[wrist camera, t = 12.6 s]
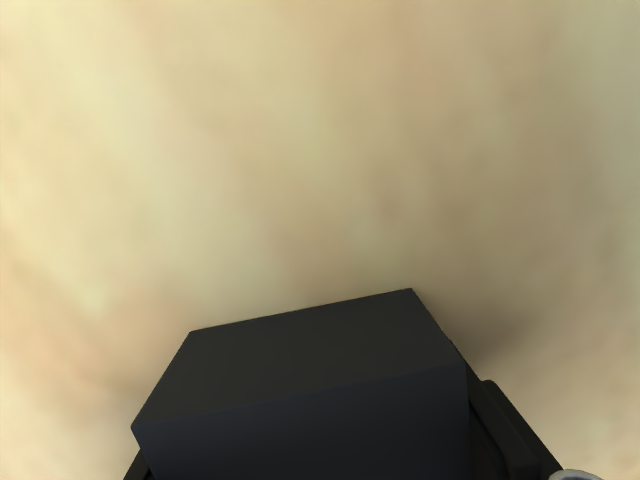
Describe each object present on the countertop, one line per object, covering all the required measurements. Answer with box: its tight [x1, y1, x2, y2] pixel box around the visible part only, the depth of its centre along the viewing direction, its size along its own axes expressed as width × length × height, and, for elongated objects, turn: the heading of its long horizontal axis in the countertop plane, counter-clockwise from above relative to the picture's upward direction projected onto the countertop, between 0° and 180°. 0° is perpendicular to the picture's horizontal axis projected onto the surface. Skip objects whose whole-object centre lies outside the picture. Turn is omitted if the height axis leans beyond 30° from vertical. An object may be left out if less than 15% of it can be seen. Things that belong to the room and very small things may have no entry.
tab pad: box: [131, 288, 474, 480], centre depth 9 cm, size 7×9×4 cm
